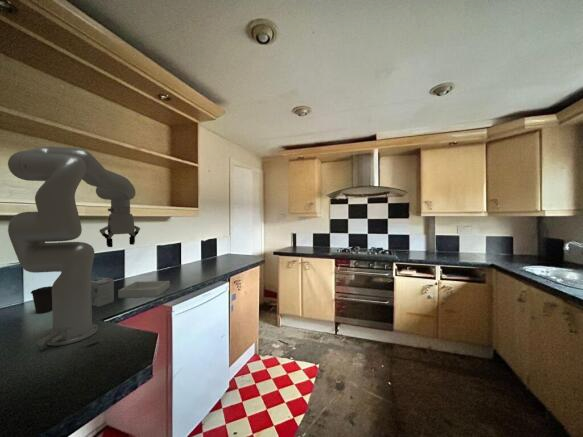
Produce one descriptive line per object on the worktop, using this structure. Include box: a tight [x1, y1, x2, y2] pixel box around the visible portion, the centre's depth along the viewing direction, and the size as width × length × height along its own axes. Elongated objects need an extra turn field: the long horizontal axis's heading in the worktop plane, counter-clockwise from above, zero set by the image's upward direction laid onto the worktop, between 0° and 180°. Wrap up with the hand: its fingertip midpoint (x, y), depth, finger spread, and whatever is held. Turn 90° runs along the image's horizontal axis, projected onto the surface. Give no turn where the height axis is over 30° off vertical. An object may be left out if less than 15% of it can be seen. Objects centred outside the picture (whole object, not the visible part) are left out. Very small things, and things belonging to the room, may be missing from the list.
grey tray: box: [117, 280, 171, 299], centre depth 118 cm, size 14×18×4 cm
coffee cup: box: [30, 285, 53, 315], centre depth 97 cm, size 8×8×10 cm
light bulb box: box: [91, 276, 115, 308], centre depth 105 cm, size 11×7×11 cm, turn 69°
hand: (121, 245), depth 112 cm, fingers open, 9 cm apart
